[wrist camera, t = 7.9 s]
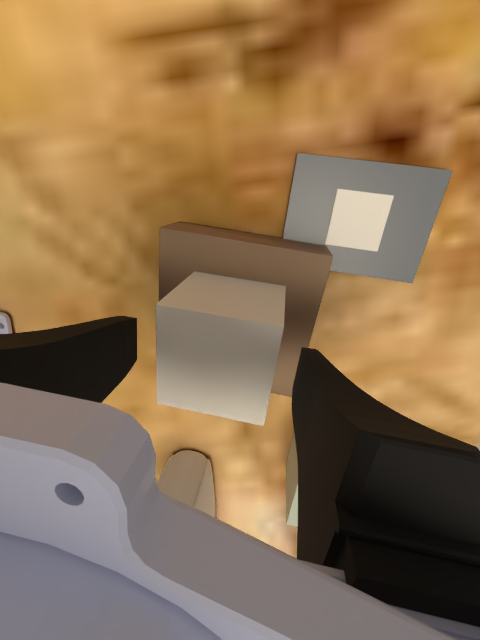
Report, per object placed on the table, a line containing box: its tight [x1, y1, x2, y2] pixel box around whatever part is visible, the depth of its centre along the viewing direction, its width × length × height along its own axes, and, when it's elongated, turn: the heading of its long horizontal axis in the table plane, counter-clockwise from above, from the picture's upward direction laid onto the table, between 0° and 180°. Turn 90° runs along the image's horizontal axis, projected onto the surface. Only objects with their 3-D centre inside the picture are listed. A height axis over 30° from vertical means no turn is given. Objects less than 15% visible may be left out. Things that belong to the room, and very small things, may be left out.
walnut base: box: [159, 222, 333, 397], centre depth 18 cm, size 9×9×3 cm
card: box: [283, 153, 453, 283], centre depth 16 cm, size 6×8×1 cm
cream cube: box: [156, 271, 286, 426], centre depth 14 cm, size 5×5×5 cm
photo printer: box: [156, 450, 215, 517], centre depth 21 cm, size 10×4×12 cm, turn 1°
